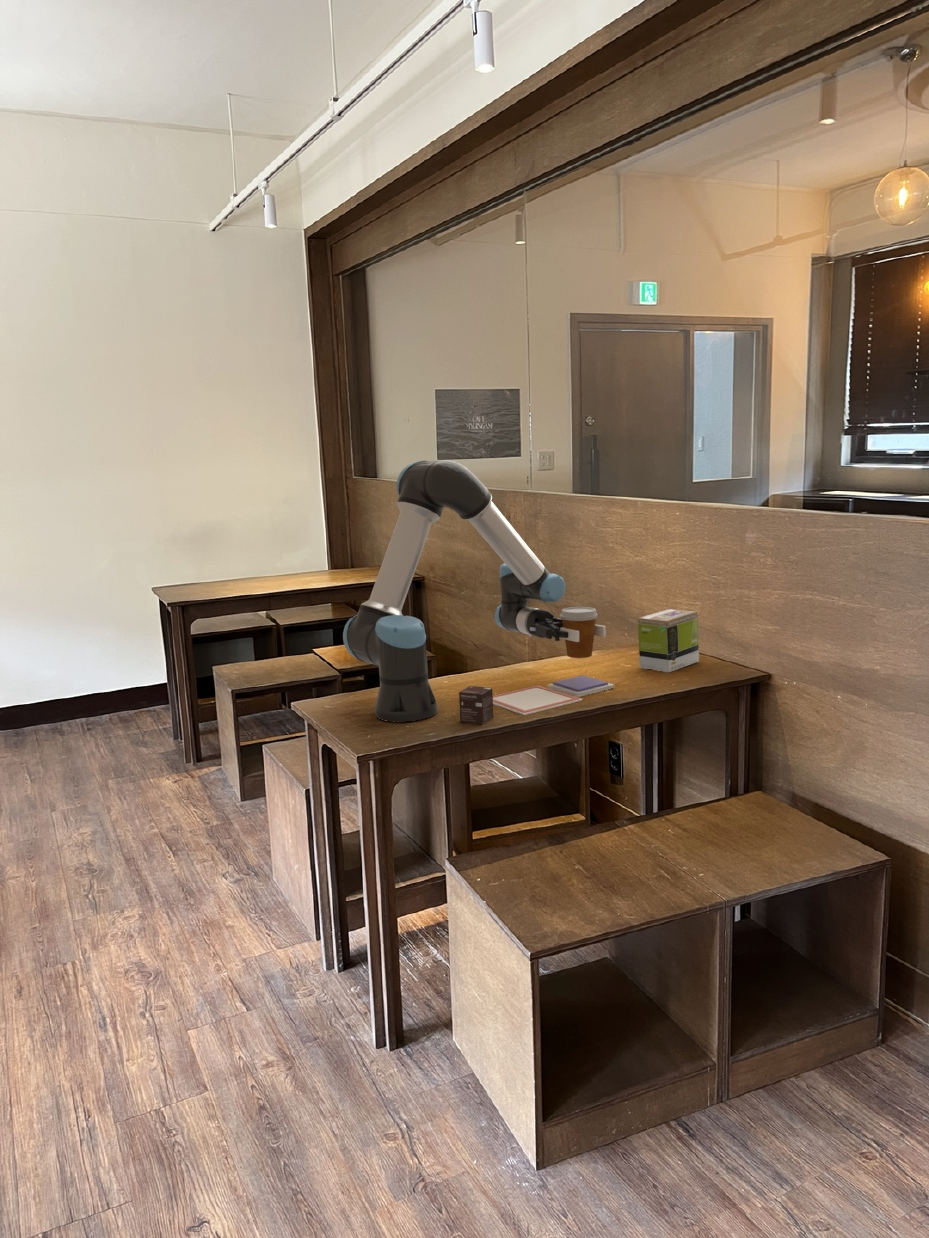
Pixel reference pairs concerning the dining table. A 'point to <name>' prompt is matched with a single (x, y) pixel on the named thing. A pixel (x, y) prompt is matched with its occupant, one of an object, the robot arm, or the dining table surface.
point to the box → (476, 704)
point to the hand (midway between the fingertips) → (591, 634)
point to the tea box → (668, 640)
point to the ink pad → (580, 686)
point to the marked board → (533, 700)
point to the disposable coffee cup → (580, 630)
